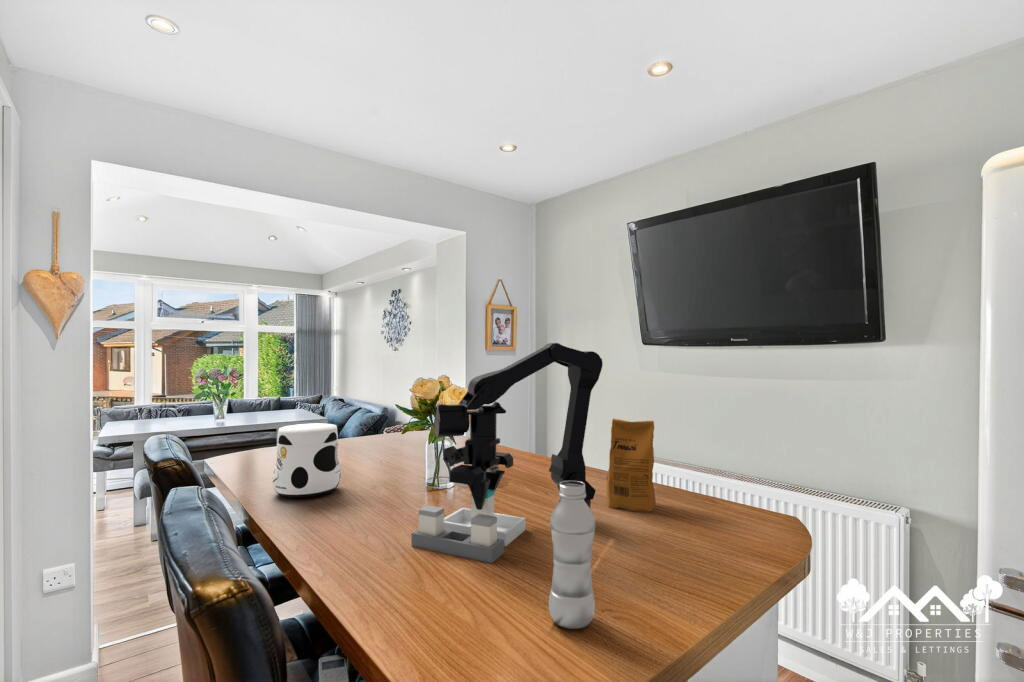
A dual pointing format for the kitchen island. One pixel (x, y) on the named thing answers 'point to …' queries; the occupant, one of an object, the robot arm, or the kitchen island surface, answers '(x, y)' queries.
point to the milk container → (306, 460)
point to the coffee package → (631, 466)
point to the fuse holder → (458, 545)
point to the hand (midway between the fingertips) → (482, 507)
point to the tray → (506, 524)
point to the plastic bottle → (572, 558)
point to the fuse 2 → (484, 530)
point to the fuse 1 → (431, 520)
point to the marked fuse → (484, 505)
